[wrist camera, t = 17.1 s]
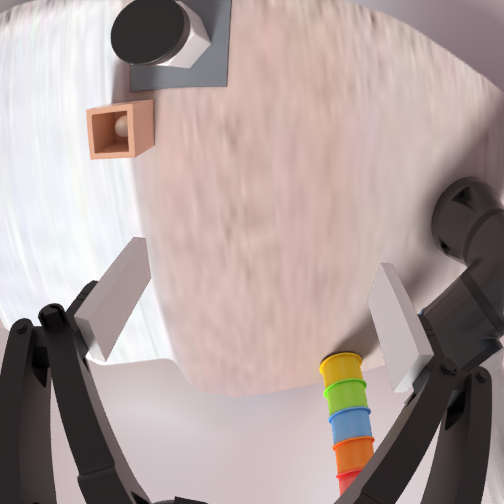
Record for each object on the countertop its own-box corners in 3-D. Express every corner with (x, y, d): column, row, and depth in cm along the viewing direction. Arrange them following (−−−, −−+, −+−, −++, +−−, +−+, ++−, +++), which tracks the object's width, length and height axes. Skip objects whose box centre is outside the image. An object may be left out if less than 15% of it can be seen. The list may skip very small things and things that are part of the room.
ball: (139, 113, 37) (130, 116, 34) (140, 134, 38) (131, 138, 36) (120, 114, 37) (110, 118, 34) (121, 135, 38) (111, 139, 36)
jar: (178, 4, 28) (144, -20, 18) (223, 32, 30) (204, 13, 20) (138, 52, 32) (94, 47, 22) (180, 81, 34) (146, 82, 24)
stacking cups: (367, 351, 61) (395, 494, 32) (352, 376, 67) (370, 504, 37) (326, 349, 61) (341, 503, 32) (314, 375, 67) (321, 510, 37)
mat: (231, -5, 27) (231, -6, 27) (226, 86, 35) (226, 86, 35) (134, 6, 28) (133, 5, 27) (131, 91, 35) (130, 91, 35)
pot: (153, 99, 36) (132, 103, 30) (154, 145, 40) (135, 157, 34) (111, 103, 36) (86, 109, 30) (113, 147, 40) (90, 159, 34)
